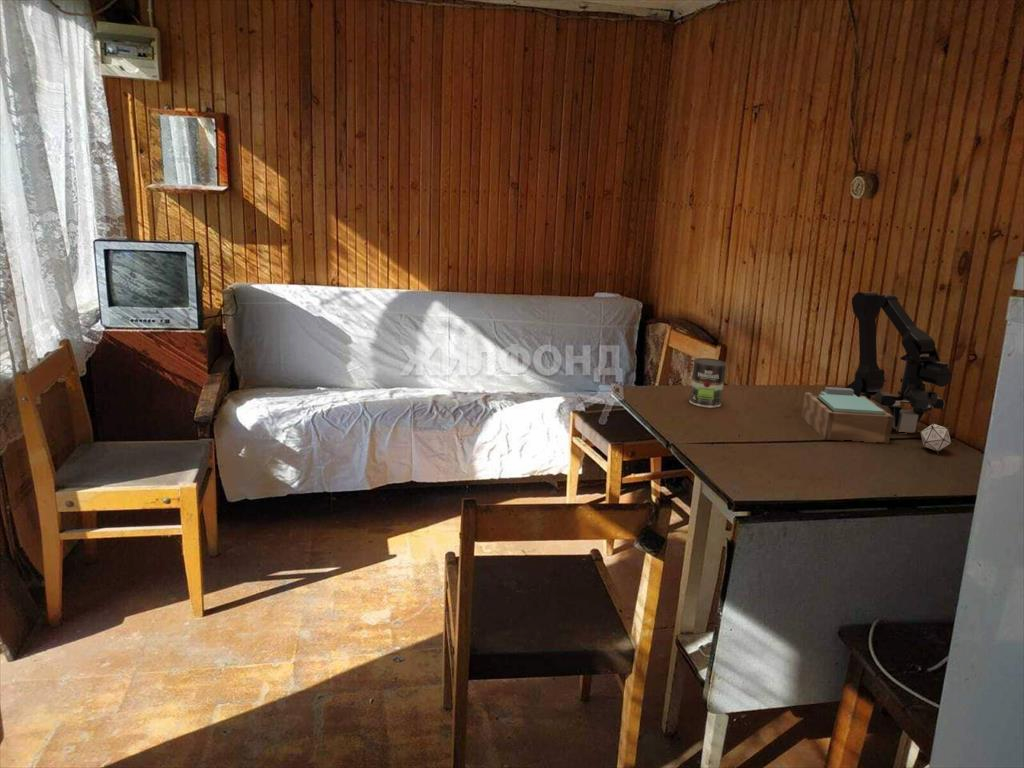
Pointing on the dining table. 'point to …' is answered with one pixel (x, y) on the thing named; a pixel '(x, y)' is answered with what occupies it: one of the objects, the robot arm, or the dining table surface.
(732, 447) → the dining table surface
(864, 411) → the trapdoor
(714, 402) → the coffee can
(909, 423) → the grey block
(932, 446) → the game die
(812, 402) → the box frame
